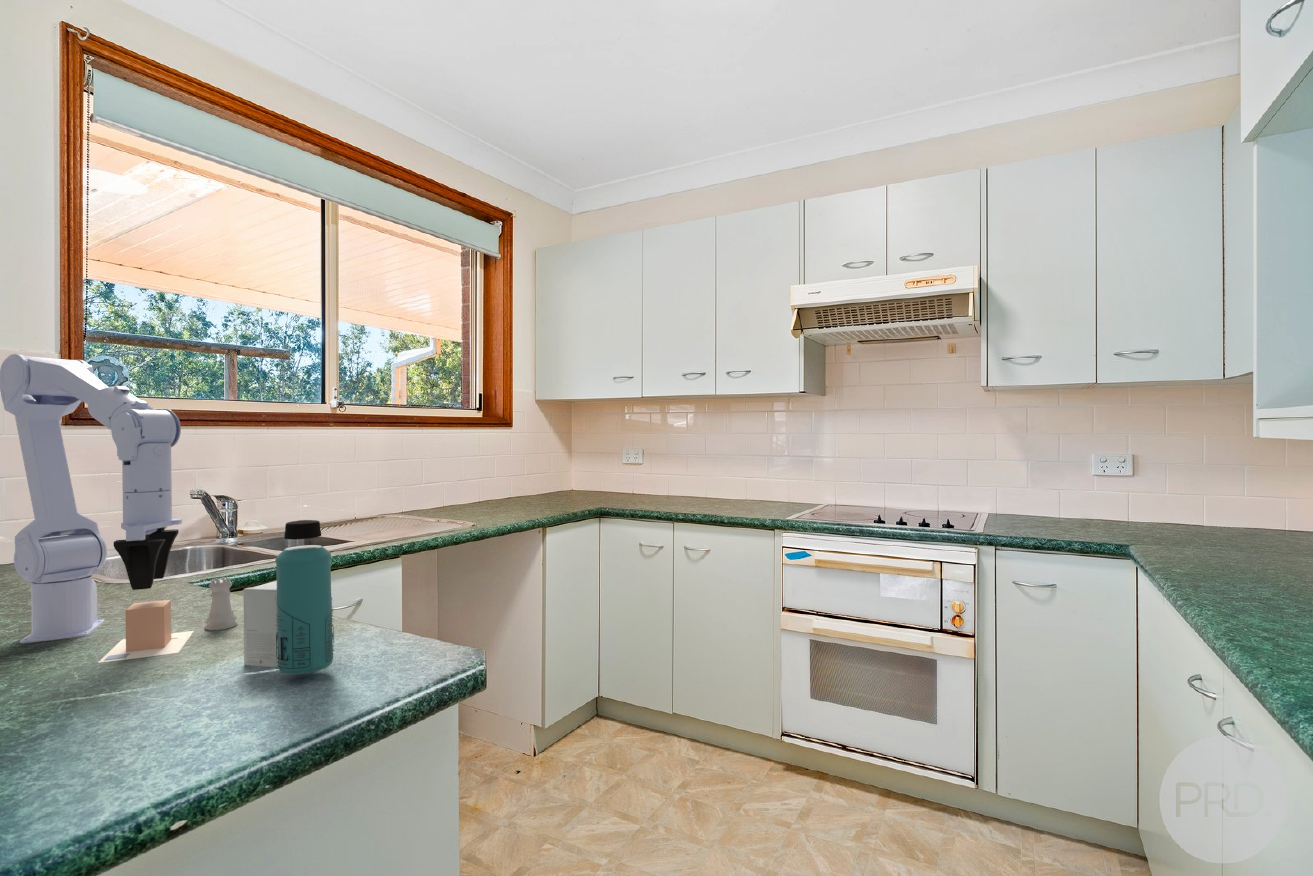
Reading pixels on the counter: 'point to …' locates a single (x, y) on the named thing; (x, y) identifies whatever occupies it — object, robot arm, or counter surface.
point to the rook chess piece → (220, 606)
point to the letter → (171, 648)
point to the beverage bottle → (304, 603)
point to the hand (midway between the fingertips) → (148, 583)
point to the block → (148, 625)
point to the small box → (260, 625)
